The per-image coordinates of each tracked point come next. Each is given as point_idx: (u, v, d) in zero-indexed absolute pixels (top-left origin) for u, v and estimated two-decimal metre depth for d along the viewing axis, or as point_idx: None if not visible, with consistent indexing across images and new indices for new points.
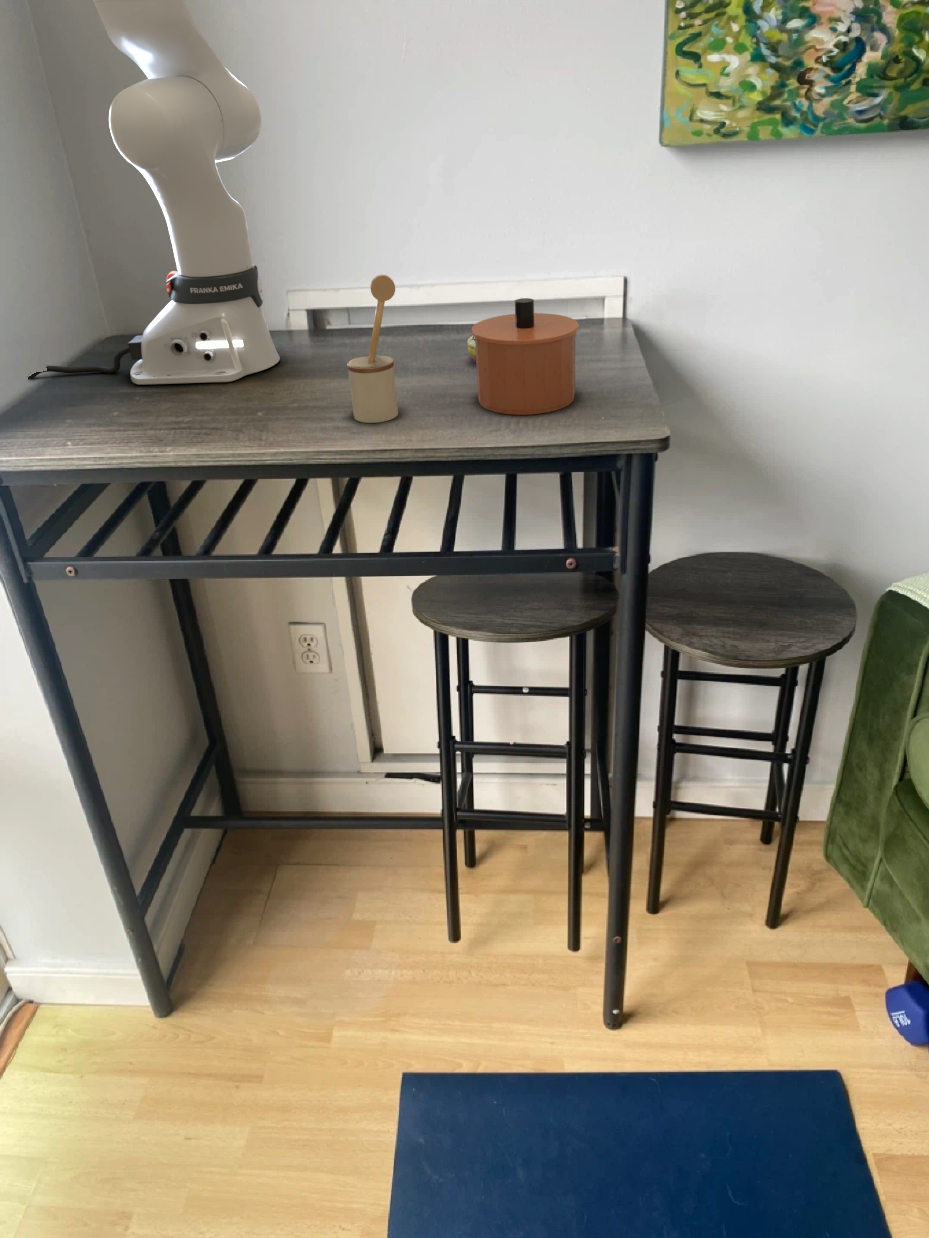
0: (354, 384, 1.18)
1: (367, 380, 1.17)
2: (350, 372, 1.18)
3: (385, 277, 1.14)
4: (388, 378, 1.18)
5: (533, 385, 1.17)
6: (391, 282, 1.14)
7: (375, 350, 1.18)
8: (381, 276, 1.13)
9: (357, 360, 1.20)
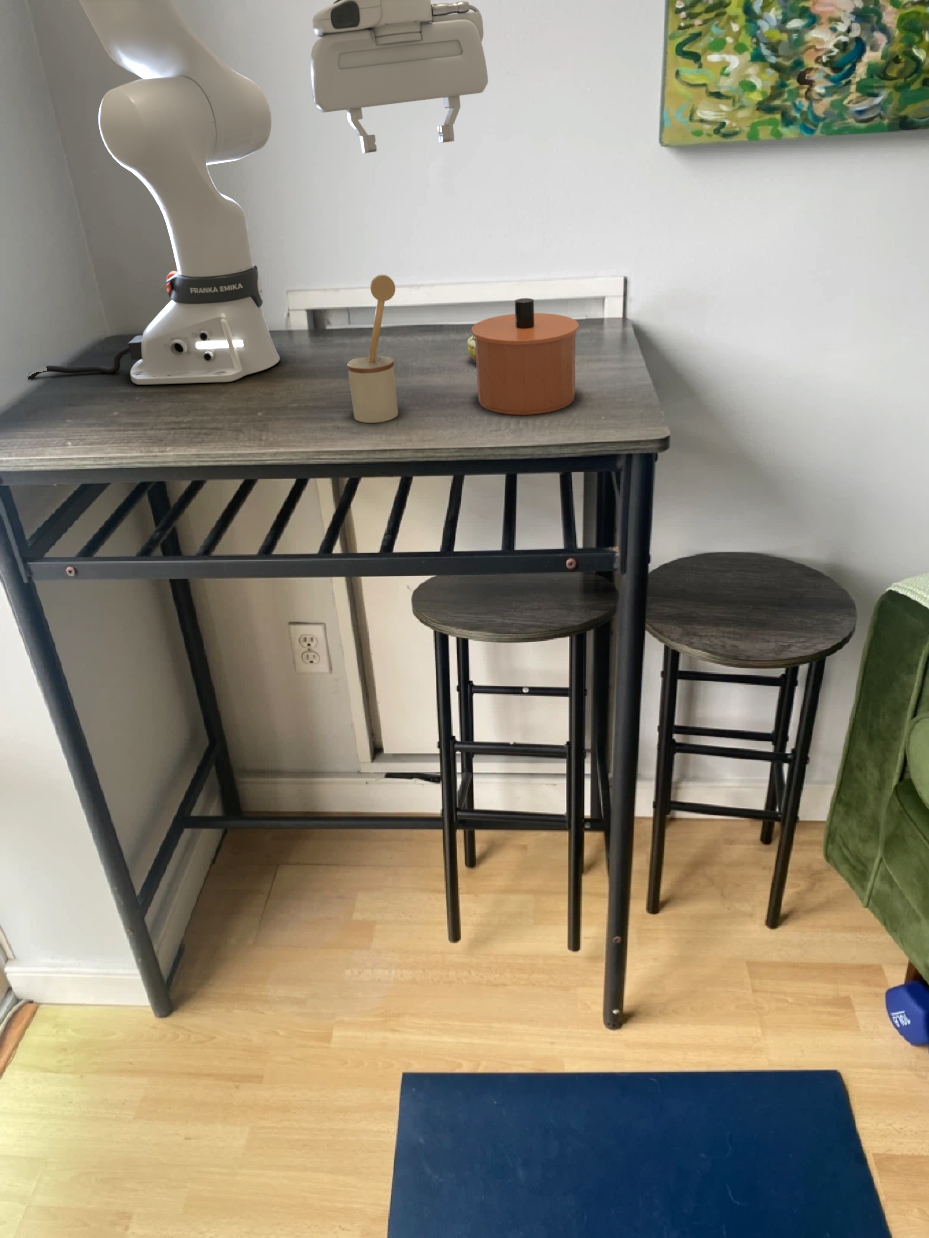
0: (354, 384, 1.18)
1: (367, 380, 1.17)
2: (350, 372, 1.18)
3: (385, 277, 1.14)
4: (388, 378, 1.18)
5: (533, 385, 1.17)
6: (391, 282, 1.14)
7: (375, 350, 1.18)
8: (381, 276, 1.13)
9: (357, 360, 1.20)
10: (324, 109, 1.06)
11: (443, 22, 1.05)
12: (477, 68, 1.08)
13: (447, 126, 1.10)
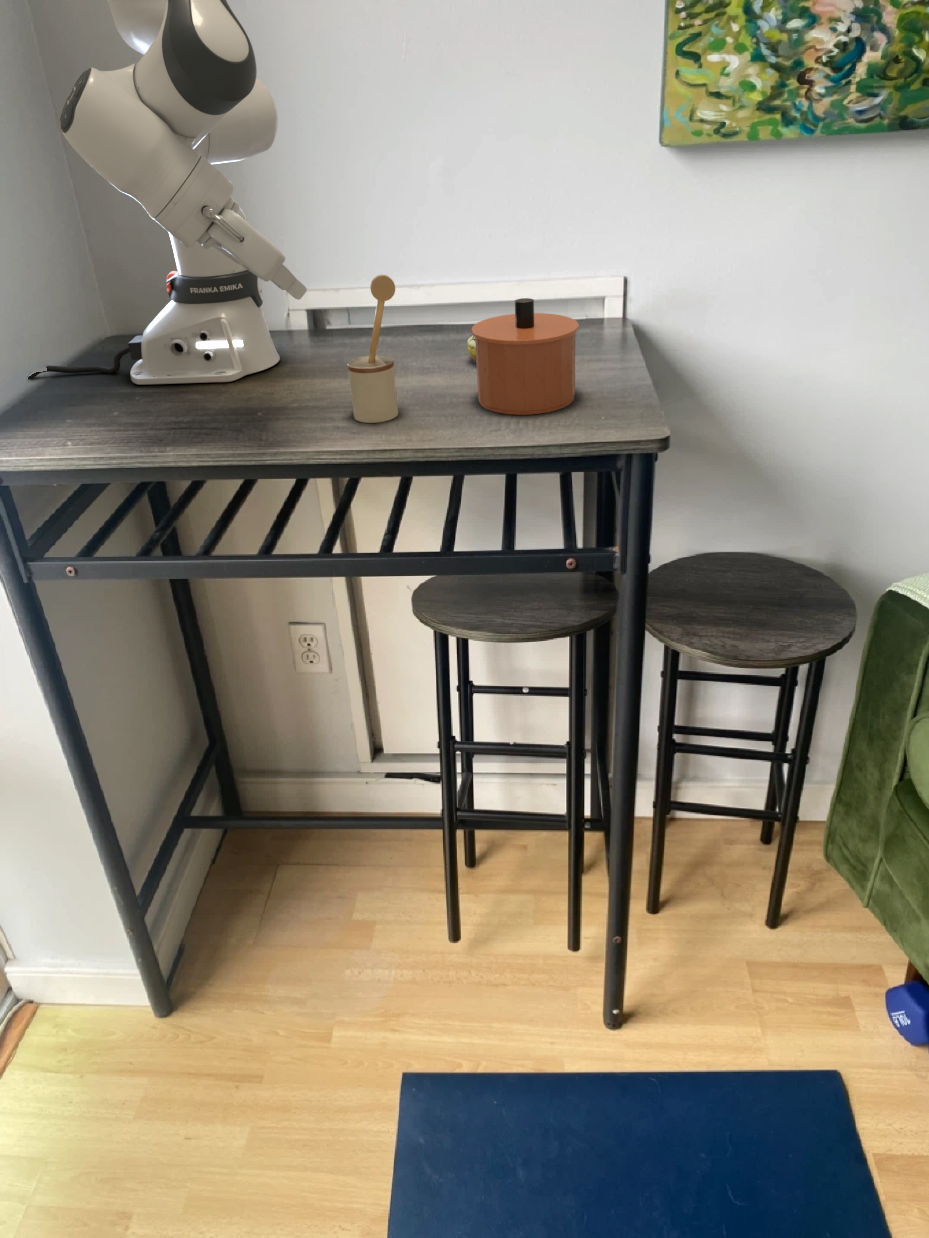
0: (354, 384, 1.18)
1: (367, 380, 1.17)
2: (350, 372, 1.18)
3: (385, 277, 1.14)
4: (388, 378, 1.18)
5: (533, 385, 1.17)
6: (391, 282, 1.14)
7: (375, 350, 1.18)
8: (381, 276, 1.13)
9: (357, 360, 1.20)
10: None
11: (209, 232, 1.03)
12: (248, 268, 1.03)
13: None
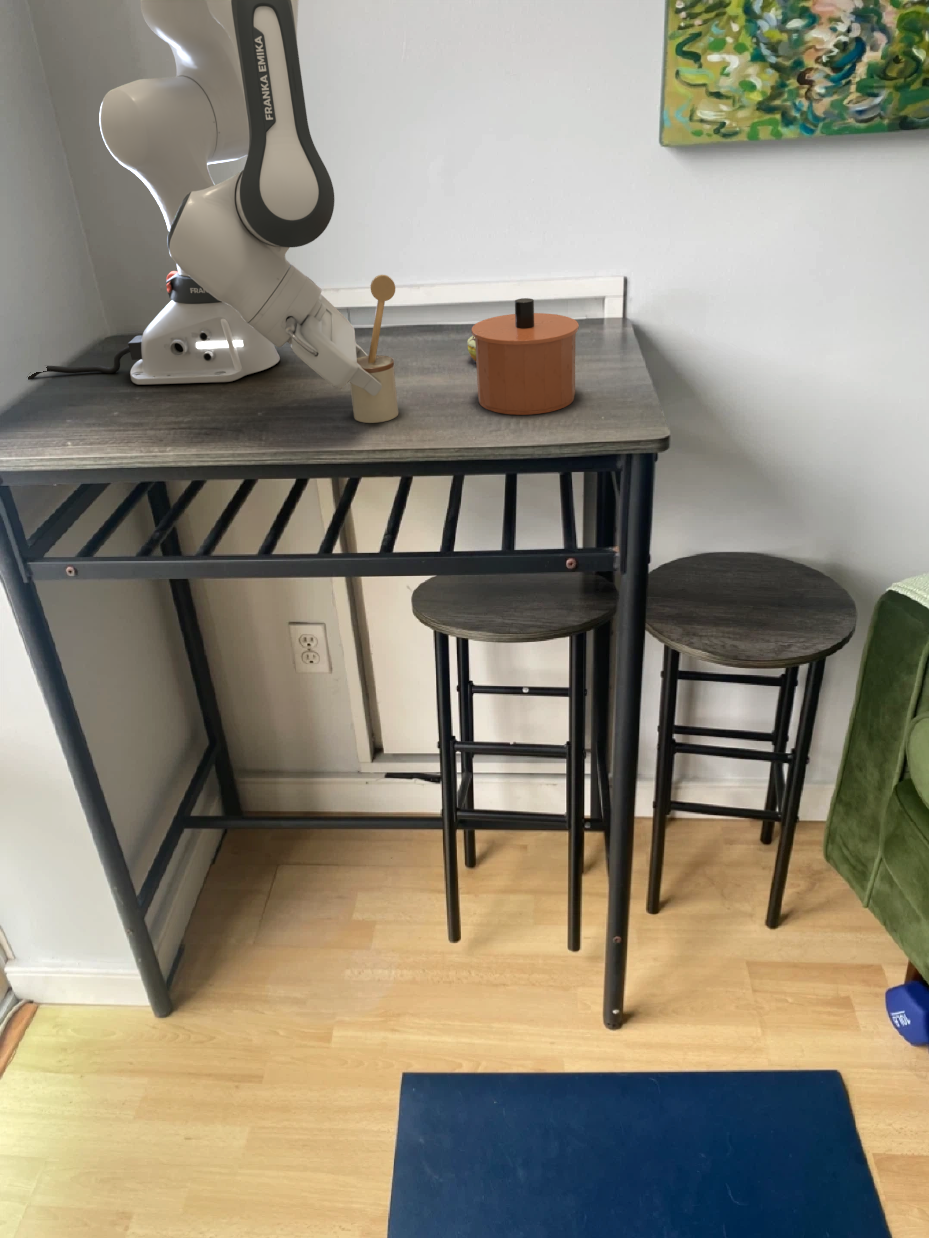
0: None
1: None
2: None
3: (385, 277, 1.13)
4: (388, 378, 1.18)
5: (533, 385, 1.17)
6: (391, 282, 1.14)
7: (375, 350, 1.18)
8: (381, 276, 1.13)
9: (357, 360, 1.20)
10: None
11: None
12: None
13: None
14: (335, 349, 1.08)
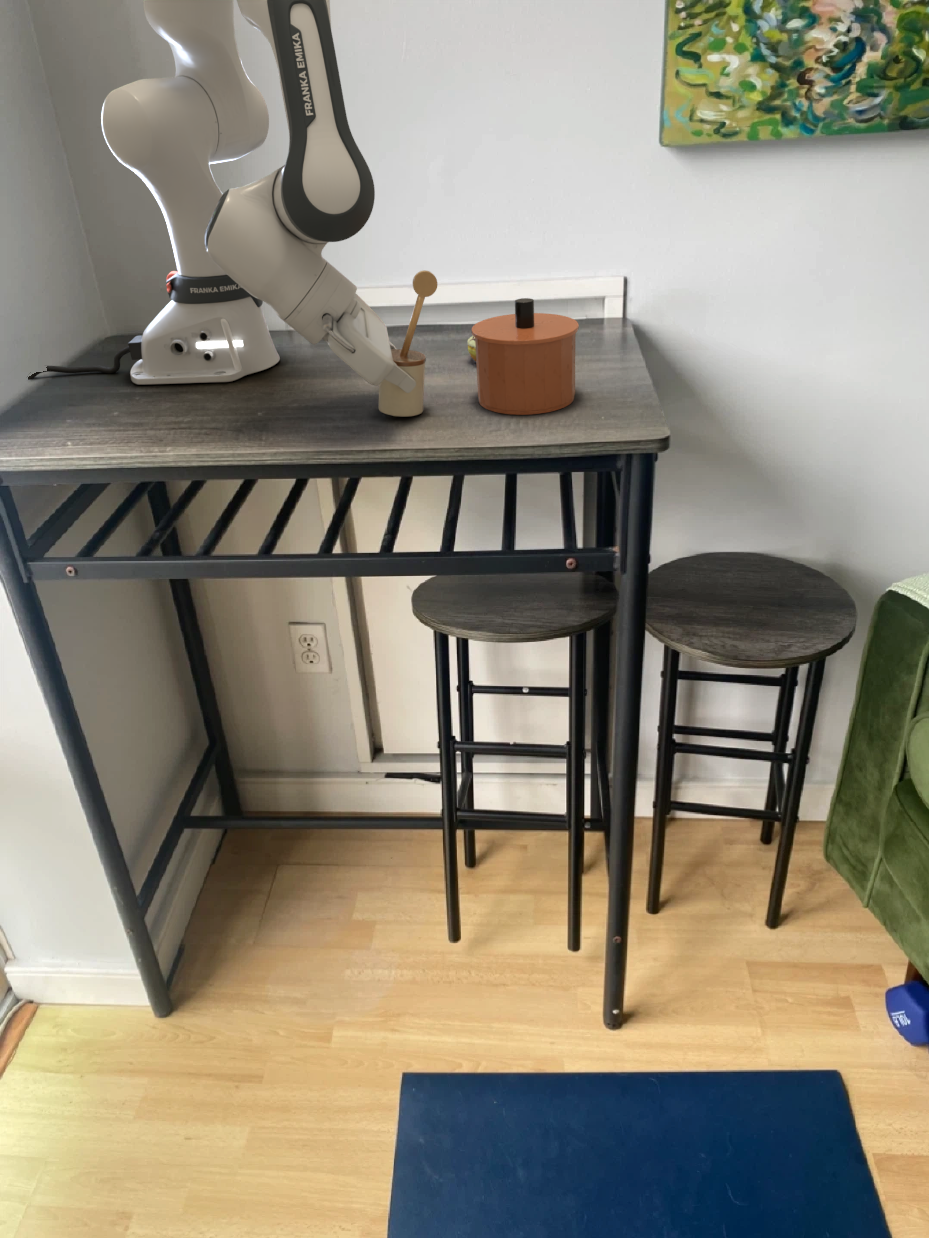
0: None
1: None
2: None
3: (429, 273, 1.14)
4: (418, 373, 1.18)
5: (533, 385, 1.17)
6: (434, 279, 1.14)
7: (409, 344, 1.18)
8: (425, 272, 1.14)
9: None
10: None
11: (328, 338, 1.11)
12: None
13: None
14: (372, 346, 1.09)
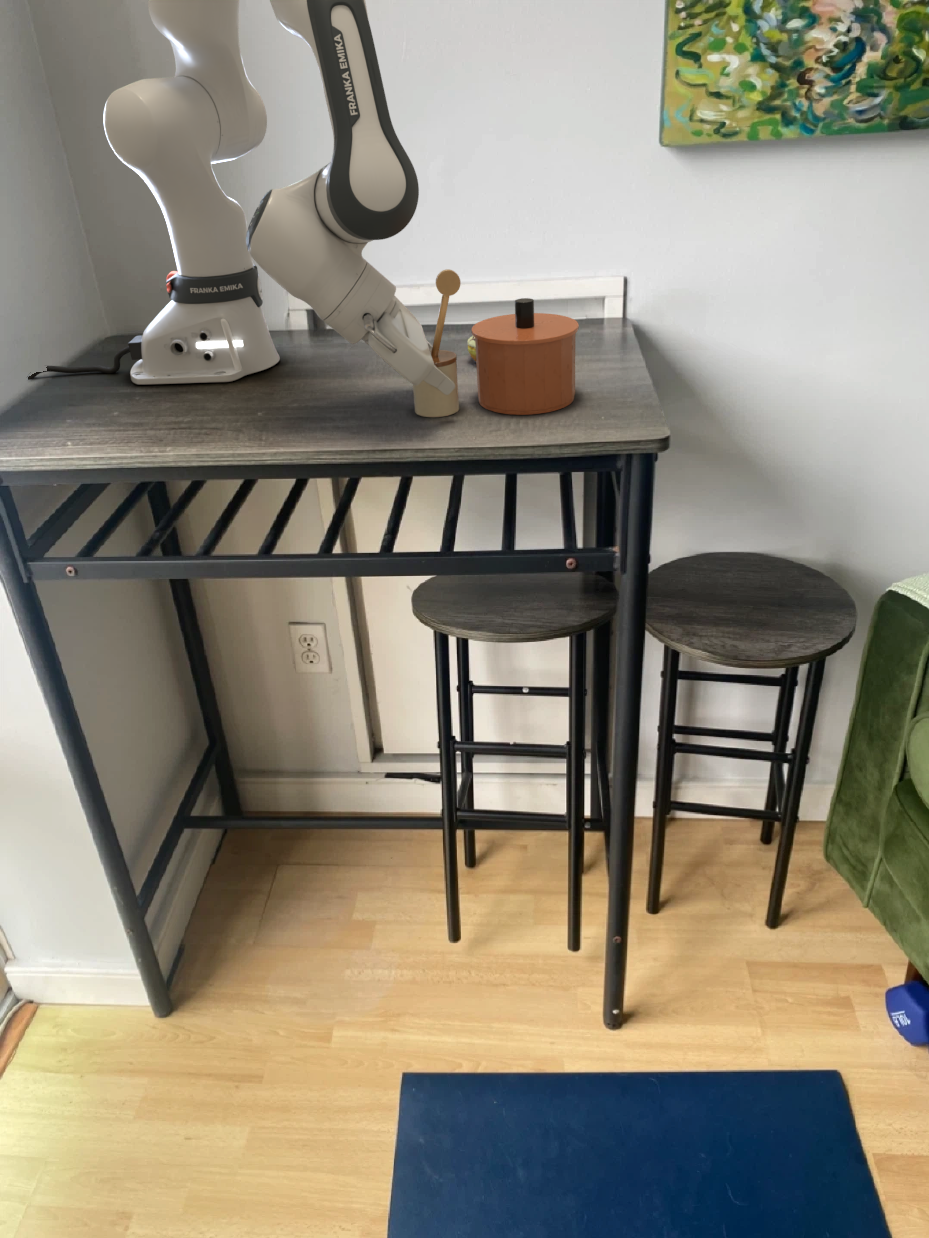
0: None
1: None
2: None
3: (451, 272, 1.14)
4: (451, 372, 1.19)
5: (533, 385, 1.17)
6: (456, 277, 1.14)
7: (438, 345, 1.18)
8: (447, 271, 1.14)
9: None
10: None
11: (368, 338, 1.12)
12: None
13: None
14: (413, 346, 1.09)
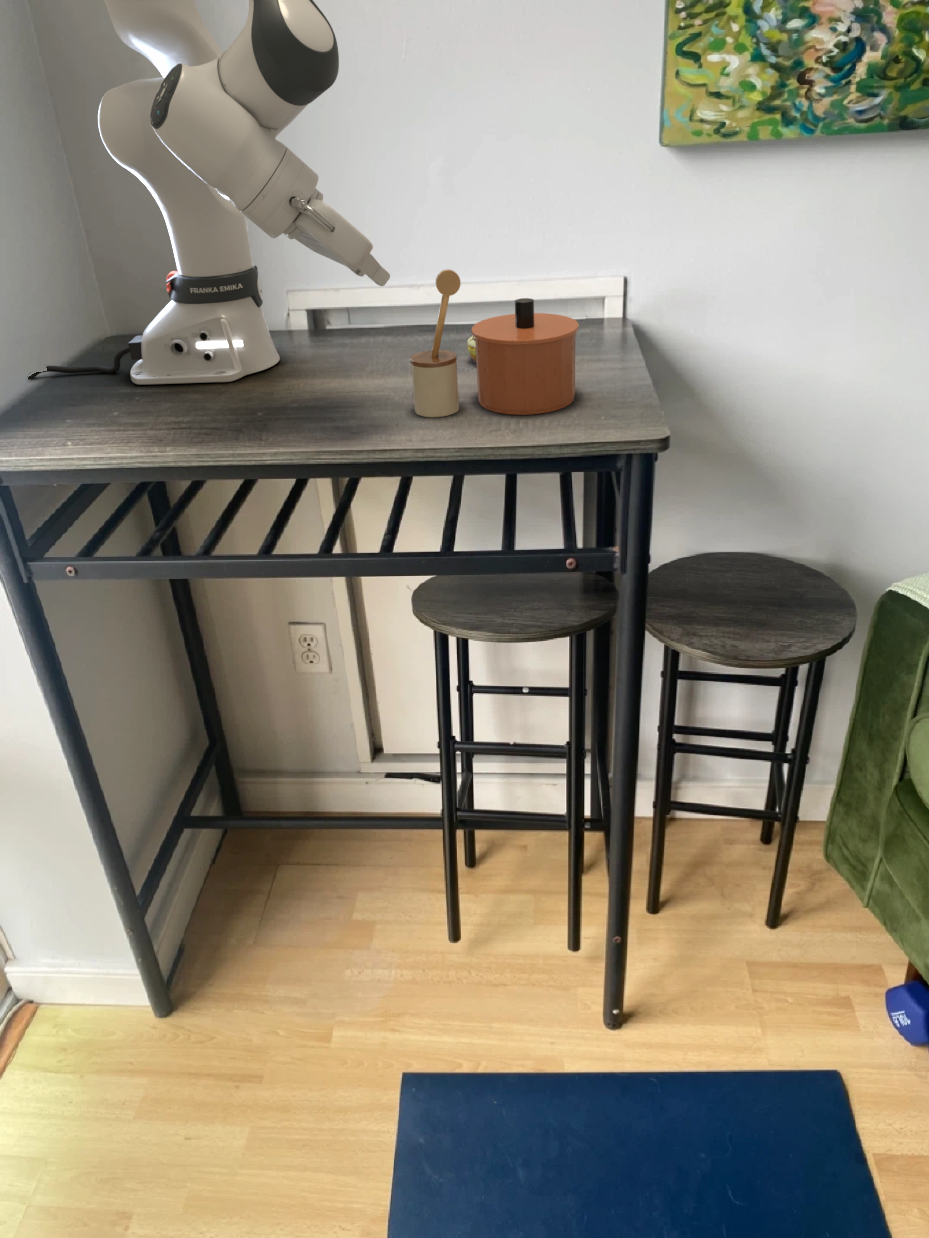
0: (417, 378, 1.19)
1: (431, 375, 1.18)
2: (413, 367, 1.19)
3: (451, 272, 1.14)
4: (451, 372, 1.19)
5: (533, 385, 1.17)
6: (456, 277, 1.14)
7: (438, 345, 1.18)
8: (447, 271, 1.14)
9: (419, 355, 1.20)
10: None
11: (297, 223, 1.05)
12: (337, 257, 1.05)
13: (370, 278, 1.11)
14: (351, 224, 1.03)
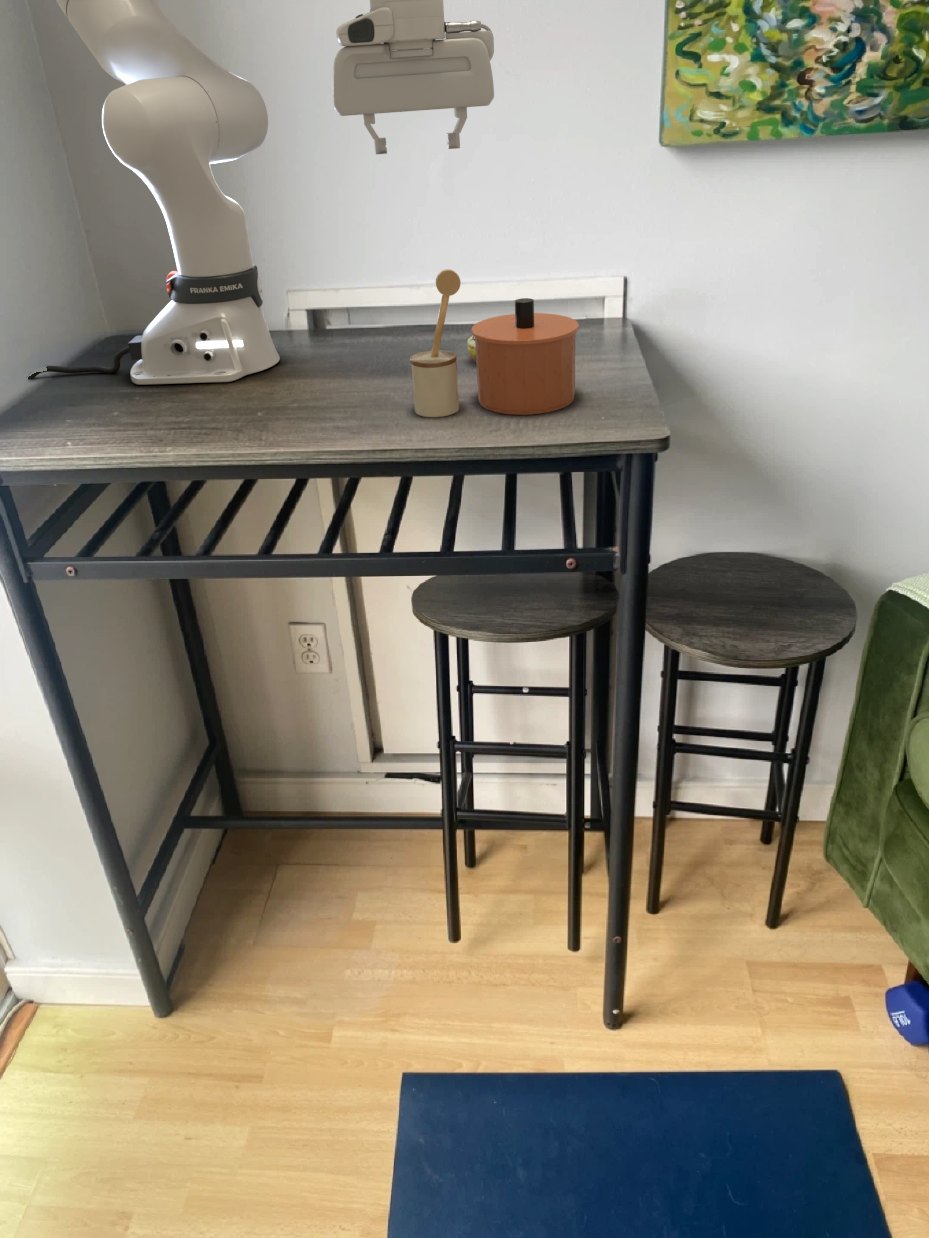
0: (417, 378, 1.19)
1: (431, 375, 1.18)
2: (413, 367, 1.19)
3: (451, 272, 1.14)
4: (451, 372, 1.19)
5: (533, 385, 1.17)
6: (456, 277, 1.14)
7: (438, 345, 1.18)
8: (447, 271, 1.14)
9: (419, 355, 1.20)
10: (340, 113, 1.17)
11: (454, 40, 1.14)
12: (484, 84, 1.17)
13: (454, 134, 1.20)
14: None
